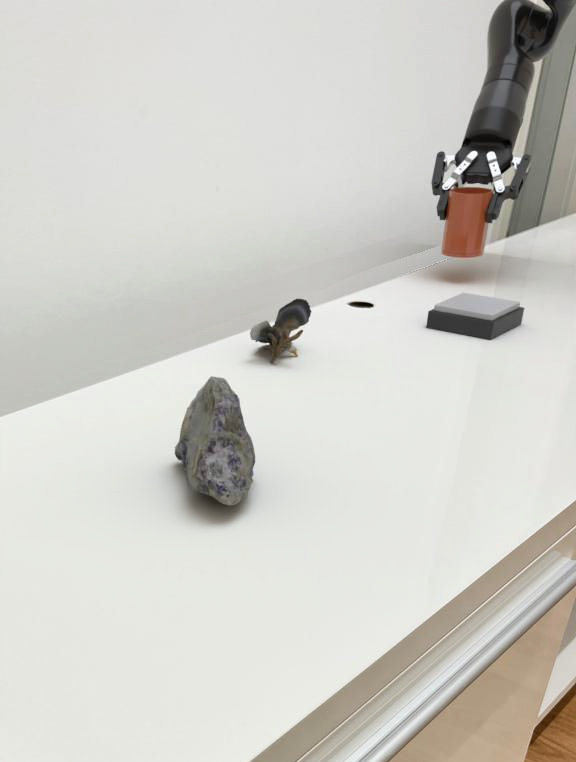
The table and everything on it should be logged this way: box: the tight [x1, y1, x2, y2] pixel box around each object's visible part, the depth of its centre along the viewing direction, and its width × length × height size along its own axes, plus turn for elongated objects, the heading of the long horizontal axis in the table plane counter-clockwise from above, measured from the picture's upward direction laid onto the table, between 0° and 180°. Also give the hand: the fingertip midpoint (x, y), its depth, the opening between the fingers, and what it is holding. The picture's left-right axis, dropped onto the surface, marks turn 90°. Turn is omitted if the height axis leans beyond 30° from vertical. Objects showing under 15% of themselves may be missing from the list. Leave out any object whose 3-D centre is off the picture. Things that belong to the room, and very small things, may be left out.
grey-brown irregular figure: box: [249, 298, 312, 364], centre depth 129 cm, size 8×7×9 cm
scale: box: [425, 292, 525, 340], centre depth 138 cm, size 9×9×3 cm
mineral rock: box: [174, 375, 256, 506], centre depth 94 cm, size 13×11×10 cm
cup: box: [440, 186, 494, 259], centre depth 156 cm, size 6×6×9 cm
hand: (465, 218), depth 154 cm, fingers closed on cup, 6 cm apart
